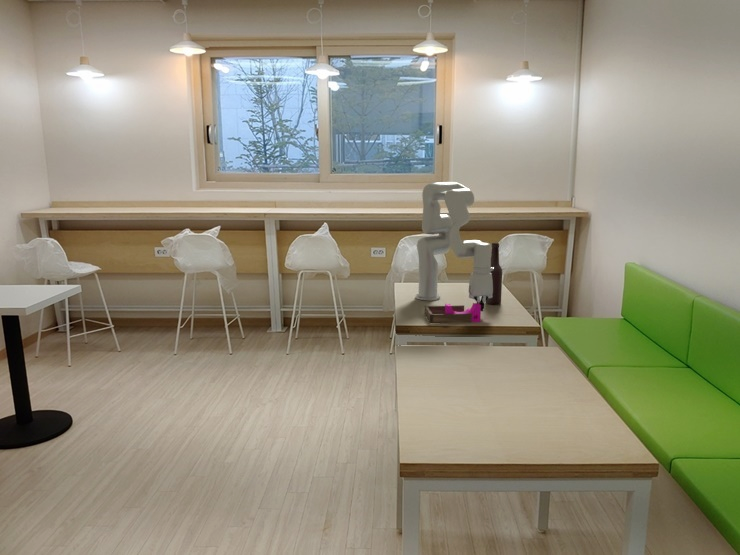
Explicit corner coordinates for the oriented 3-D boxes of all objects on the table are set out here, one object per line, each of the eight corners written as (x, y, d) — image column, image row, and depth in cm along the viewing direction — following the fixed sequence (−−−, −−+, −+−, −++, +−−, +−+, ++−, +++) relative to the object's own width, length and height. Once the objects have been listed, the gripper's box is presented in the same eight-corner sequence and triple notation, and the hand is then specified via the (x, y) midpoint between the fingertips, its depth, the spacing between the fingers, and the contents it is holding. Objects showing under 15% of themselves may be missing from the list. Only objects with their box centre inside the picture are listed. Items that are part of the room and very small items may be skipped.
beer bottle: (495, 300, 293) (498, 241, 287) (503, 304, 286) (506, 243, 280) (482, 302, 291) (484, 242, 285) (490, 305, 284) (492, 244, 278)
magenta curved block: (476, 317, 263) (477, 301, 262) (480, 321, 257) (480, 305, 256) (443, 318, 262) (444, 302, 261) (446, 322, 256) (446, 306, 255)
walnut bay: (424, 314, 269) (424, 306, 268) (463, 313, 270) (463, 305, 269) (430, 323, 255) (430, 314, 254) (471, 322, 256) (471, 313, 255)
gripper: (495, 268, 264) (493, 307, 268) (462, 269, 262) (461, 308, 266) (500, 271, 257) (498, 312, 261) (467, 272, 255) (466, 313, 259)
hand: (480, 310), depth 263 cm, fingers closed
